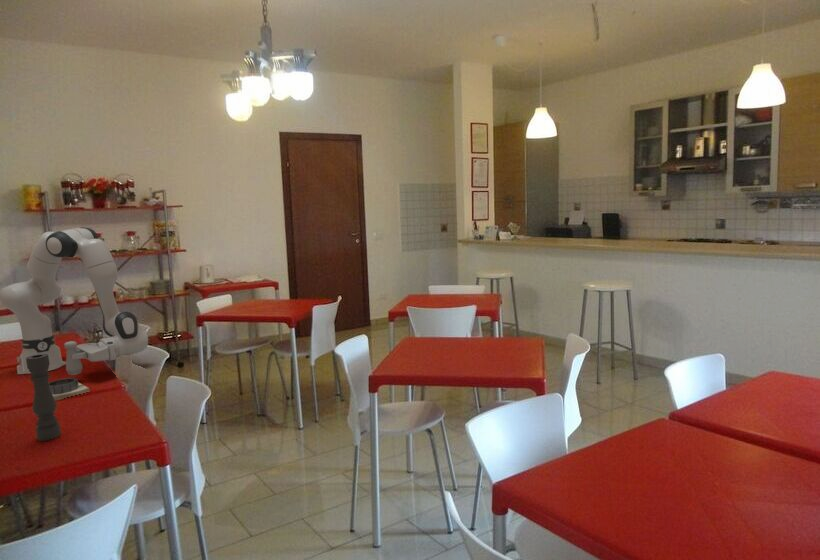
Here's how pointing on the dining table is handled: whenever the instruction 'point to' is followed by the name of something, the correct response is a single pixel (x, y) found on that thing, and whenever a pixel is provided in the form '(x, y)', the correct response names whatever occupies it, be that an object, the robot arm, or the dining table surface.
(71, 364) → the salt shaker
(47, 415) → the candle holder
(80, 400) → the dining table surface
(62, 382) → the metal collar
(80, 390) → the birch stand
